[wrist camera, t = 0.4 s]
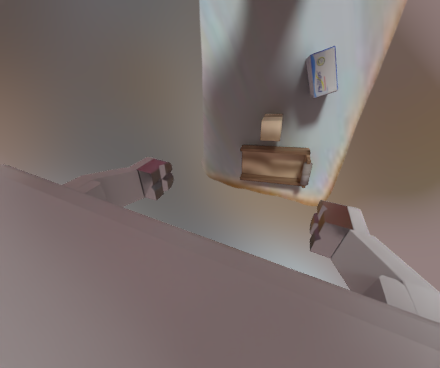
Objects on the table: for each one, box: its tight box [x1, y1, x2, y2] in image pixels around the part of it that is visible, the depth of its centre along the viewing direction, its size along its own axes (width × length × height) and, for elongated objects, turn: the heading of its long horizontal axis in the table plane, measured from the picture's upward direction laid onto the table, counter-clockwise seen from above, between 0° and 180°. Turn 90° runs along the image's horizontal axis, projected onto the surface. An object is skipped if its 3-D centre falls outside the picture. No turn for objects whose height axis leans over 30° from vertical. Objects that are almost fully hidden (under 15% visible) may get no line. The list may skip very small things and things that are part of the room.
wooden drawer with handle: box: [240, 145, 312, 188], centre depth 53 cm, size 10×19×7 cm, turn 92°
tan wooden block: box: [260, 114, 283, 141], centre depth 46 cm, size 4×4×10 cm
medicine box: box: [306, 46, 338, 98], centre depth 39 cm, size 8×4×9 cm, turn 19°
